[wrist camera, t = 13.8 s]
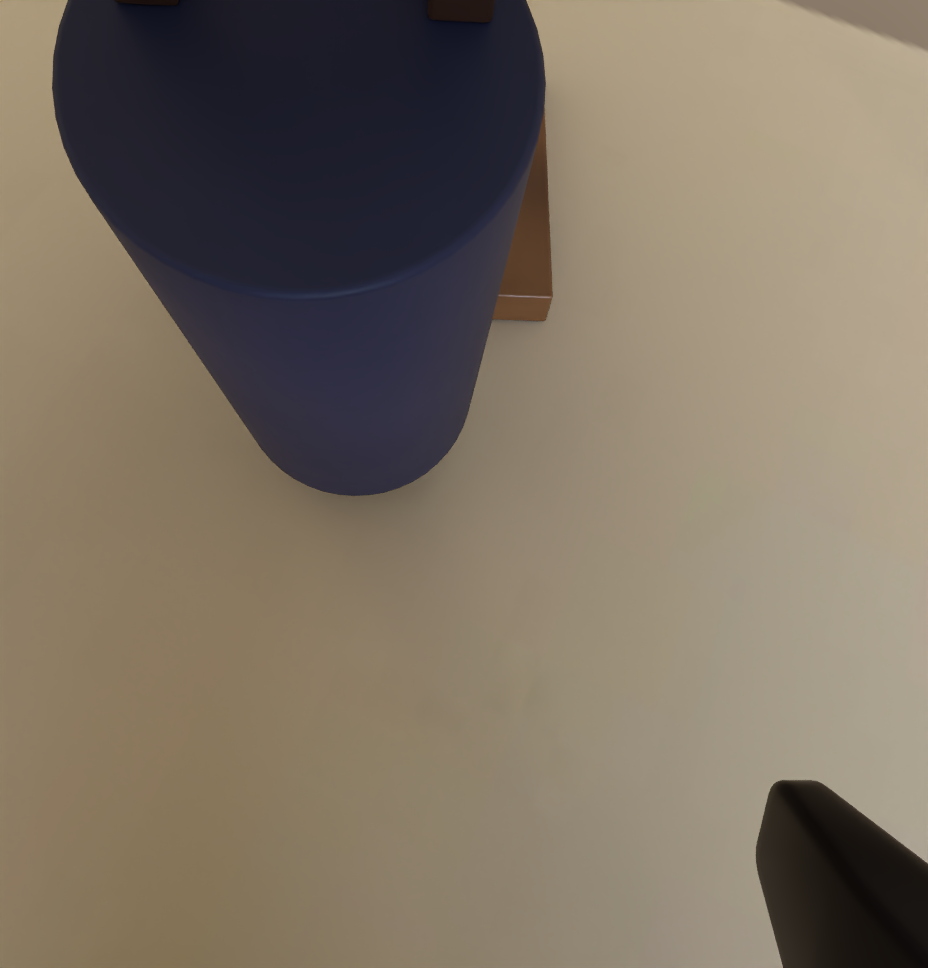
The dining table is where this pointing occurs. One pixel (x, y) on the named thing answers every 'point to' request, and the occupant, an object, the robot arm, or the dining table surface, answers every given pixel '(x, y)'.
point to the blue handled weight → (314, 203)
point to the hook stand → (529, 250)
